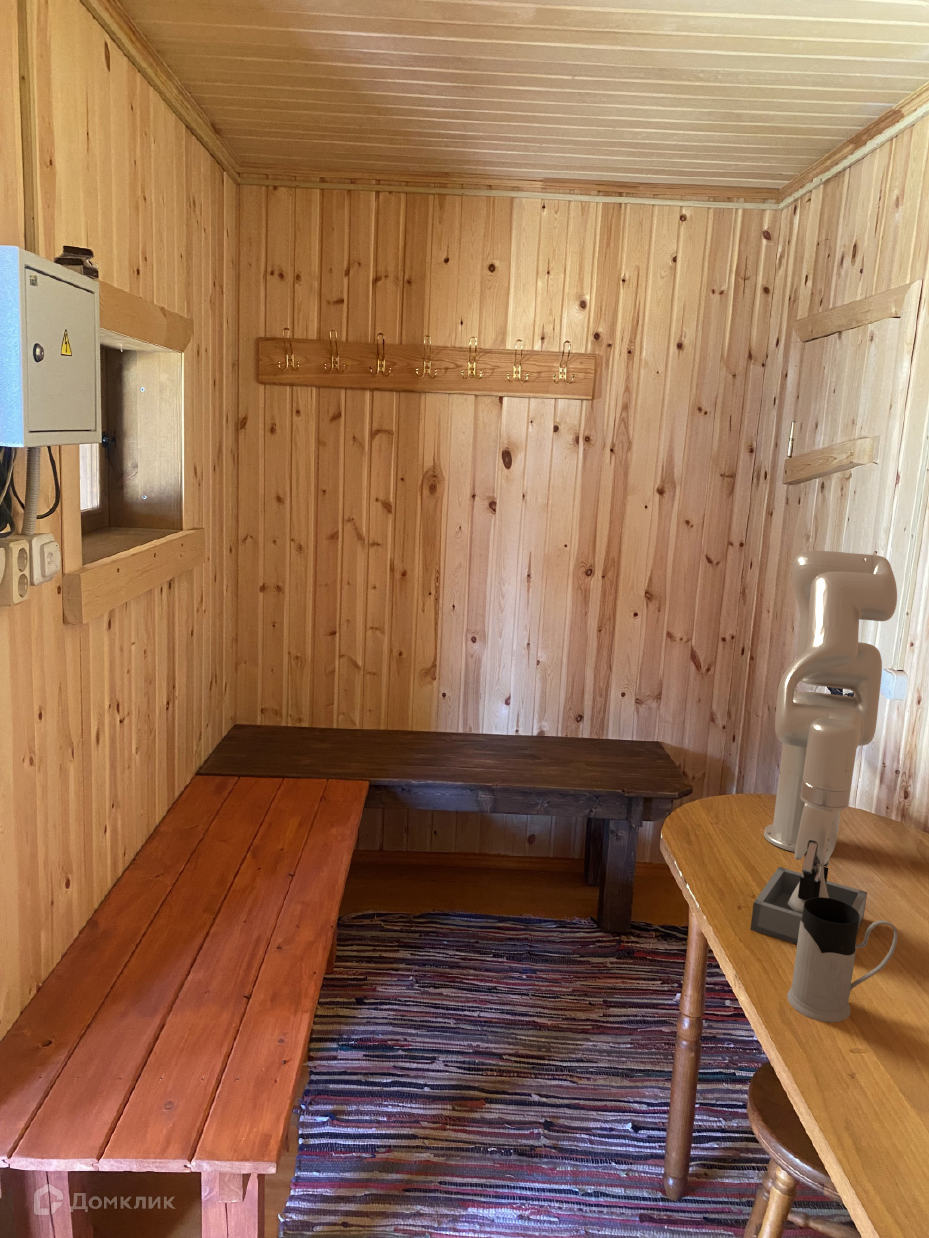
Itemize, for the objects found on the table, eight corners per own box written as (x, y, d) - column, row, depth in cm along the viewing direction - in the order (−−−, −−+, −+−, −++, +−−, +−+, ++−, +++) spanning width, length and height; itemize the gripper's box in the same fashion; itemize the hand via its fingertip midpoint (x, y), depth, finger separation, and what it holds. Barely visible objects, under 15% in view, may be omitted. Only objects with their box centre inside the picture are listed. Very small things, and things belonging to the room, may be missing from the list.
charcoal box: (775, 891, 167) (778, 866, 166) (863, 918, 159) (867, 892, 158) (750, 929, 154) (753, 902, 153) (844, 960, 146) (848, 931, 145)
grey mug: (779, 983, 139) (791, 893, 136) (873, 989, 139) (887, 898, 136) (798, 1020, 130) (811, 924, 127) (898, 1026, 130) (914, 930, 127)
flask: (835, 922, 152) (843, 866, 150) (790, 915, 153) (797, 860, 151) (827, 900, 159) (835, 847, 157) (784, 894, 160) (791, 841, 158)
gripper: (813, 772, 161) (801, 868, 165) (789, 803, 147) (775, 907, 151) (859, 783, 157) (845, 880, 161) (838, 816, 143) (823, 922, 147)
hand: (811, 892), depth 156 cm, fingers closed on flask, 4 cm apart
